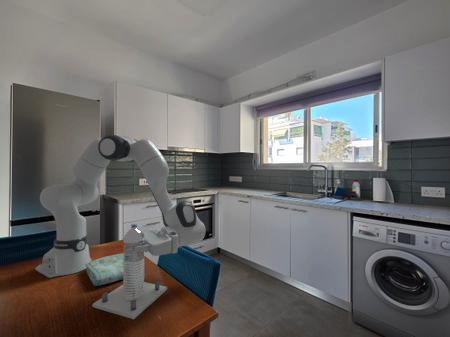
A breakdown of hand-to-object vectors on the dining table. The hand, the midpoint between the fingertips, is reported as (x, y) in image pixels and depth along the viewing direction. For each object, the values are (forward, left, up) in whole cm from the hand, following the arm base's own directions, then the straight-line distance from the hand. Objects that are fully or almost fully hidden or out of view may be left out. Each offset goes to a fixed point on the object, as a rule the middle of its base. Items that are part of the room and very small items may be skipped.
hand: (130, 245), depth 75 cm
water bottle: (+1, 0, -18) cm, 18 cm away
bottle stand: (0, +1, -19) cm, 19 cm away
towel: (-21, +13, -19) cm, 31 cm away
